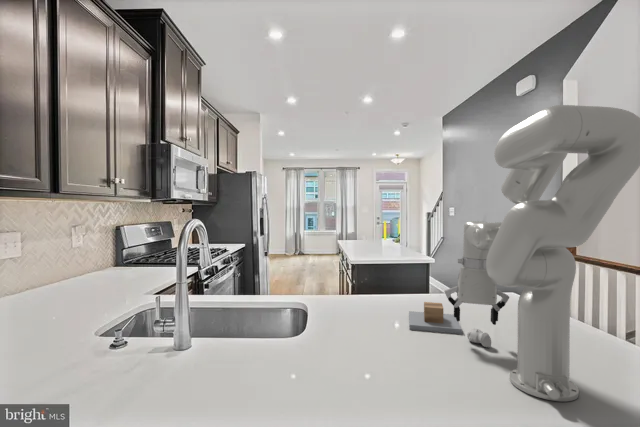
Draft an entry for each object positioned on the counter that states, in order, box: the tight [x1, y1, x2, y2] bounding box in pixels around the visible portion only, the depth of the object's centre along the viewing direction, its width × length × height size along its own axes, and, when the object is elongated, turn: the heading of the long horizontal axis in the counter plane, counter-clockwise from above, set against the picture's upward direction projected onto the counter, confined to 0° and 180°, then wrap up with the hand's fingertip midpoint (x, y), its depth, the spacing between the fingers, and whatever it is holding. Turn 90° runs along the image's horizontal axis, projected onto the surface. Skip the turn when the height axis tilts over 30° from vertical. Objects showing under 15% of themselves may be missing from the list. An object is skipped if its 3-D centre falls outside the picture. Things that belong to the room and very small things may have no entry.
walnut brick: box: [423, 301, 444, 323], centre depth 115 cm, size 7×6×5 cm
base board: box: [408, 310, 463, 335], centre depth 115 cm, size 16×16×2 cm
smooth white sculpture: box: [467, 328, 492, 348], centre depth 98 cm, size 4×8×5 cm
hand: (475, 321), depth 98 cm, fingers open, 9 cm apart
